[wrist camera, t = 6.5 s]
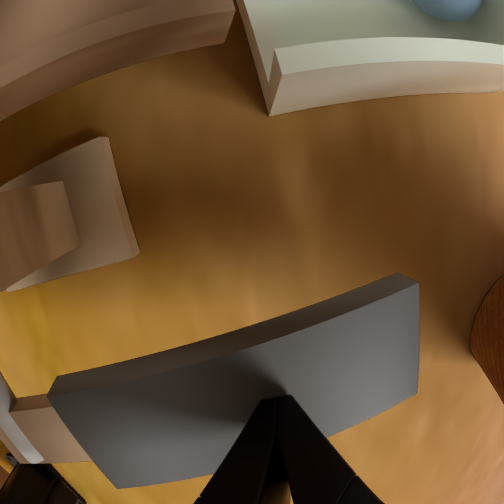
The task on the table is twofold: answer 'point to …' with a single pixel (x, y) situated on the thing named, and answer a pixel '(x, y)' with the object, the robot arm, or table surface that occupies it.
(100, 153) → the fulcrum stand
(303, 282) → the table surface
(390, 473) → the table surface
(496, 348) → the disposable coffee cup
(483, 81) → the white storage tray
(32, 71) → the lever
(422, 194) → the table surface
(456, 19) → the ball
